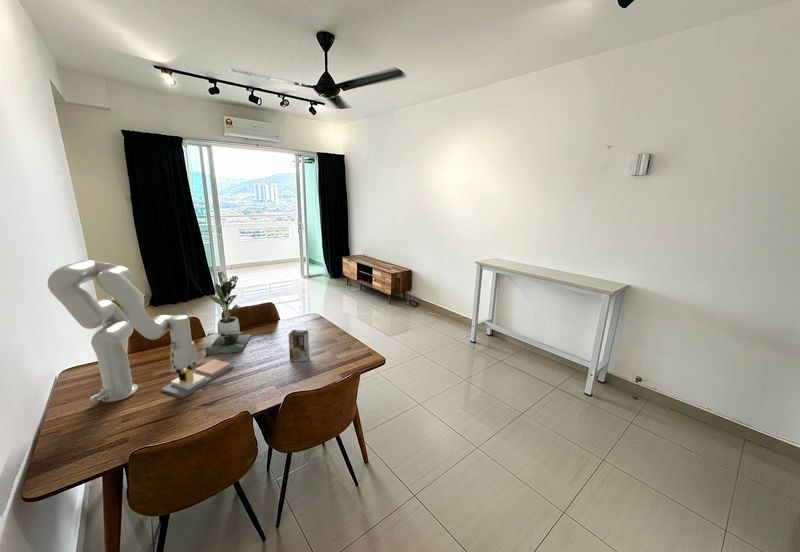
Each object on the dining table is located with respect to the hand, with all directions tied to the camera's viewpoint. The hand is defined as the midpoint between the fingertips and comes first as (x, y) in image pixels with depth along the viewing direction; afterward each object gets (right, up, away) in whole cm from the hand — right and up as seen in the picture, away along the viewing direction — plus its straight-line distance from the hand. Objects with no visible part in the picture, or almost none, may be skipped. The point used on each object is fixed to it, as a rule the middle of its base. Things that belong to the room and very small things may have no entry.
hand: (186, 377), depth 147 cm
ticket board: (+2, -2, +7) cm, 8 cm away
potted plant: (-2, +6, +42) cm, 43 cm away
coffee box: (+44, +1, +29) cm, 53 cm away
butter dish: (0, -2, +1) cm, 3 cm away
